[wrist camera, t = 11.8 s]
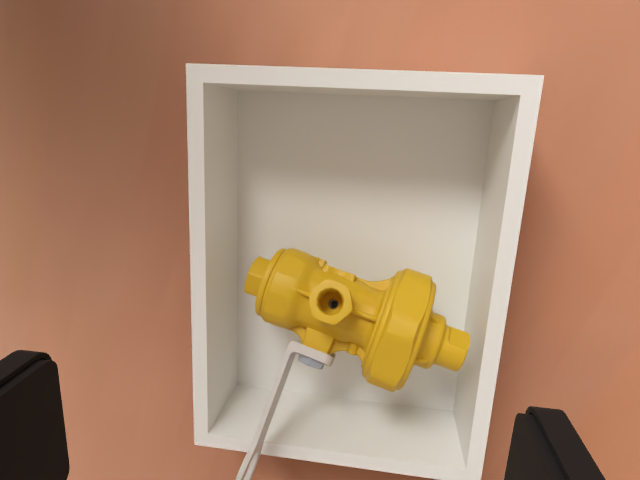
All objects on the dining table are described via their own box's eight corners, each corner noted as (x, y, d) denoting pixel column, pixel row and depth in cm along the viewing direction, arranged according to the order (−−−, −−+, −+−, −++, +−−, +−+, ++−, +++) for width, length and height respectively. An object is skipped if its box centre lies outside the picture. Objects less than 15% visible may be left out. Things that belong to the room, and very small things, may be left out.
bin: (228, 388, 27) (194, 444, 23) (228, 75, 23) (185, 63, 18) (463, 418, 26) (479, 485, 21) (509, 86, 21) (544, 75, 17)
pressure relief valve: (283, 236, 25) (469, 301, 23) (196, 459, 23) (390, 548, 22) (258, 210, 20) (497, 292, 18) (143, 497, 18) (395, 619, 16)
